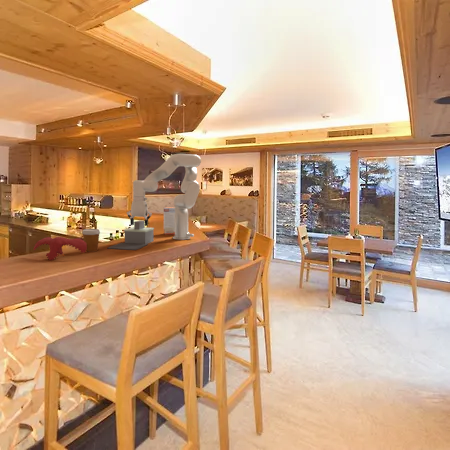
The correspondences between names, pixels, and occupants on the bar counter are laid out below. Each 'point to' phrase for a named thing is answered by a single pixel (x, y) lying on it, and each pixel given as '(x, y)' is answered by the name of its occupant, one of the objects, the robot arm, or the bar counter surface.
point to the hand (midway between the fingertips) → (139, 225)
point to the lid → (139, 227)
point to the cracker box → (169, 220)
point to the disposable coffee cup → (91, 239)
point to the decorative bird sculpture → (60, 245)
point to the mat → (127, 246)
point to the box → (139, 237)
